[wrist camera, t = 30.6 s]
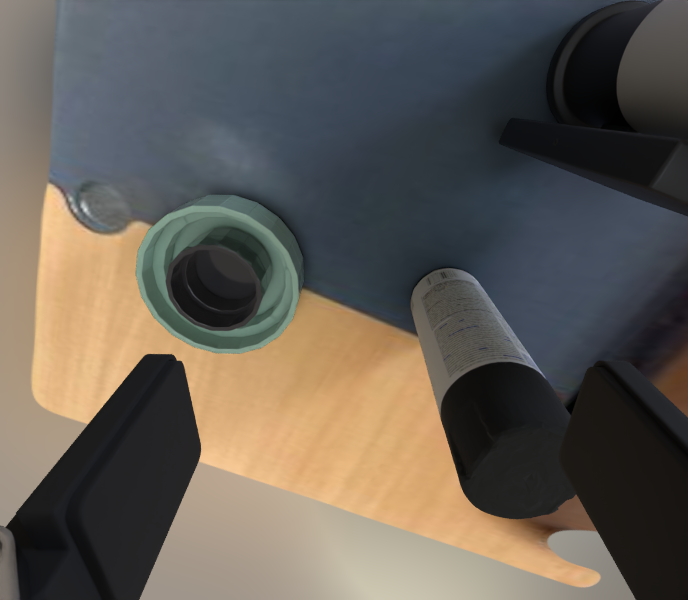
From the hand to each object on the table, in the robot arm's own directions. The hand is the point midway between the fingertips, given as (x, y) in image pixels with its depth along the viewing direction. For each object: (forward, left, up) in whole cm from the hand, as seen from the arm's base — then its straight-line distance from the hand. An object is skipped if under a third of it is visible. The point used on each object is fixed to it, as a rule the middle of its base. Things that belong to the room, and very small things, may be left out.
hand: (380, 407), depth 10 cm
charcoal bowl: (+7, -11, -26) cm, 29 cm away
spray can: (+10, +8, -26) cm, 29 cm away
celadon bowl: (+7, -11, -26) cm, 30 cm away
